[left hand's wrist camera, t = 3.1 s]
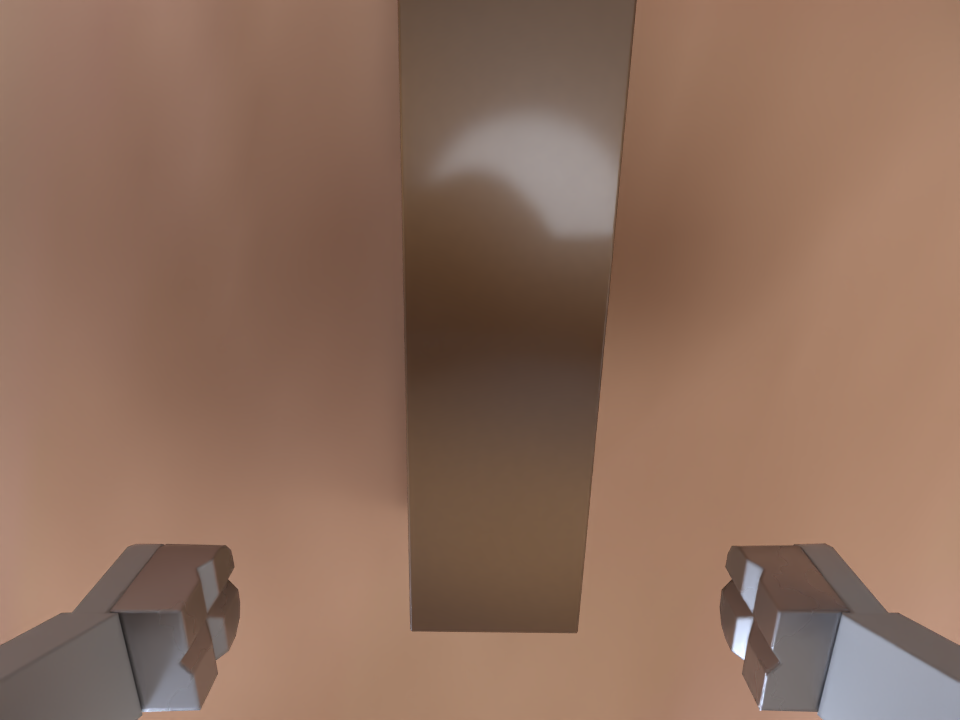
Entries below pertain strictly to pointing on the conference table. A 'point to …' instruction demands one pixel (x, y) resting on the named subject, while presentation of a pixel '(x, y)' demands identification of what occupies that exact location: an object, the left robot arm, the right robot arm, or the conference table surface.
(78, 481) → the conference table surface
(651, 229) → the conference table surface
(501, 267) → the bar
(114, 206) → the conference table surface
